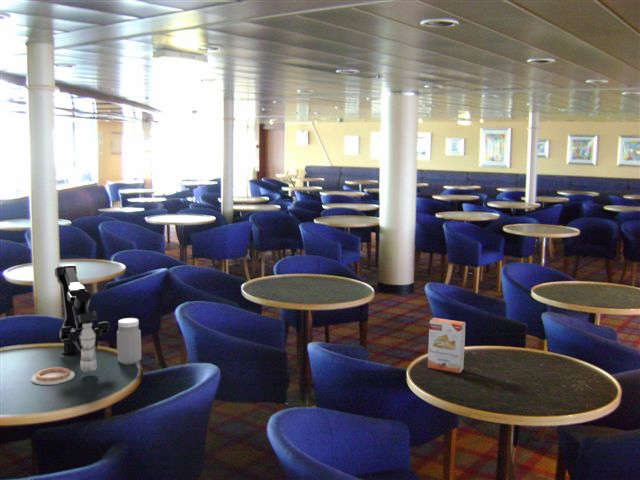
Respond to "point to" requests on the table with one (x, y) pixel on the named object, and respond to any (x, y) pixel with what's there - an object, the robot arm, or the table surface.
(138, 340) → the jar
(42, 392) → the table surface
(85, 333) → the plastic bottle
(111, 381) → the table surface
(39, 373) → the white orange plate
